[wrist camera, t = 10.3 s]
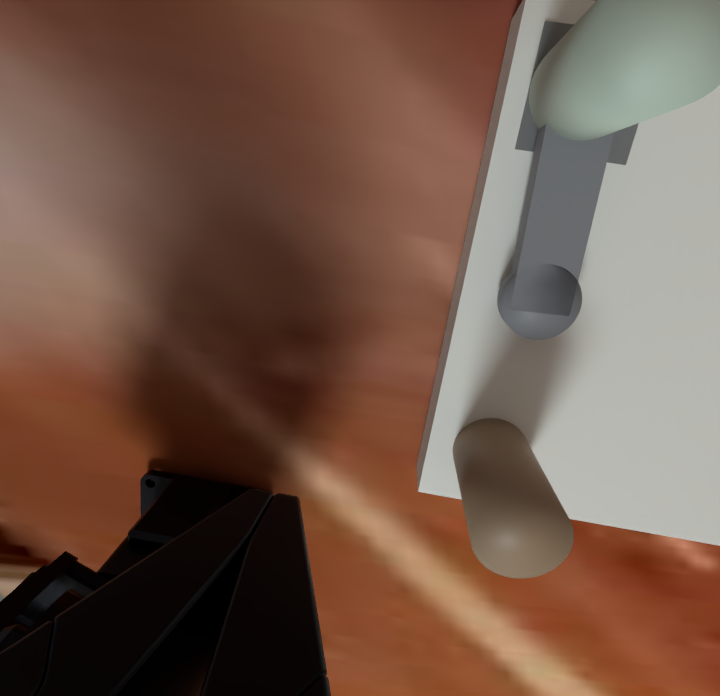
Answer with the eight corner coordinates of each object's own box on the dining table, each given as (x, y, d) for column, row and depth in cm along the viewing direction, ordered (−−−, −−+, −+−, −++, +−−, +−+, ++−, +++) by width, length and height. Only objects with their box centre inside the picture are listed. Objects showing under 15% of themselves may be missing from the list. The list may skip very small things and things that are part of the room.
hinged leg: (569, 338, 16) (642, 393, 11) (485, 328, 16) (521, 379, 11) (643, 37, 13) (784, -63, 8) (540, 31, 13) (618, -71, 8)
